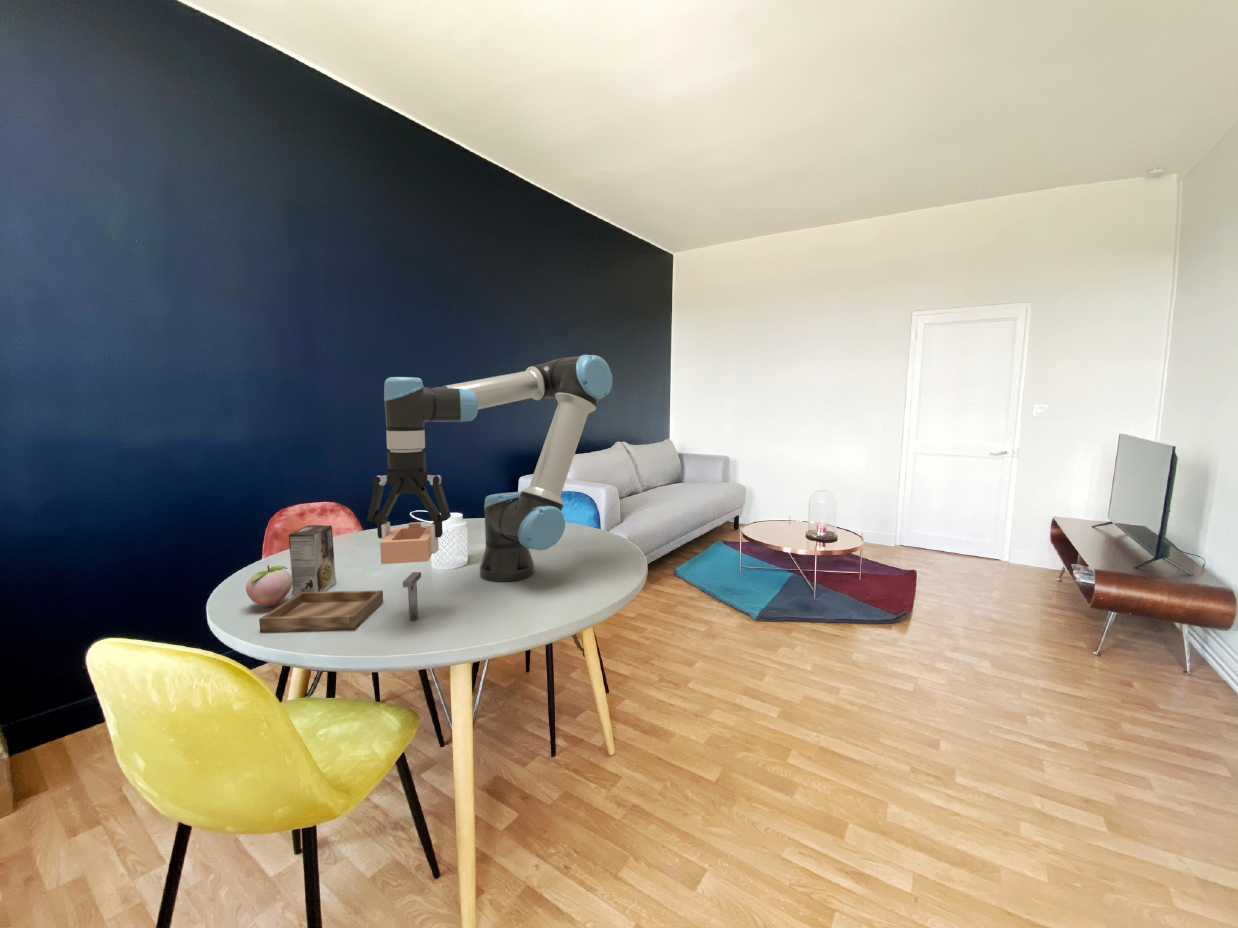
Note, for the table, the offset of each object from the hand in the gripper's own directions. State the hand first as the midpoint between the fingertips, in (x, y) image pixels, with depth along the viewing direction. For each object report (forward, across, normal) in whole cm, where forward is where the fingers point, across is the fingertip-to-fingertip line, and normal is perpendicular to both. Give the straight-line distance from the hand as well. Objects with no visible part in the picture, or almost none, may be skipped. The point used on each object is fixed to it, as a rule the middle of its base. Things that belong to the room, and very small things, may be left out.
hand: (411, 552), depth 108 cm
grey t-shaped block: (+15, 0, 0) cm, 15 cm away
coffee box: (+15, +31, -19) cm, 40 cm away
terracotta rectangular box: (0, 0, 0) cm, 1 cm away
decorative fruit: (+15, +36, -9) cm, 40 cm away
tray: (+15, +20, -2) cm, 25 cm away
